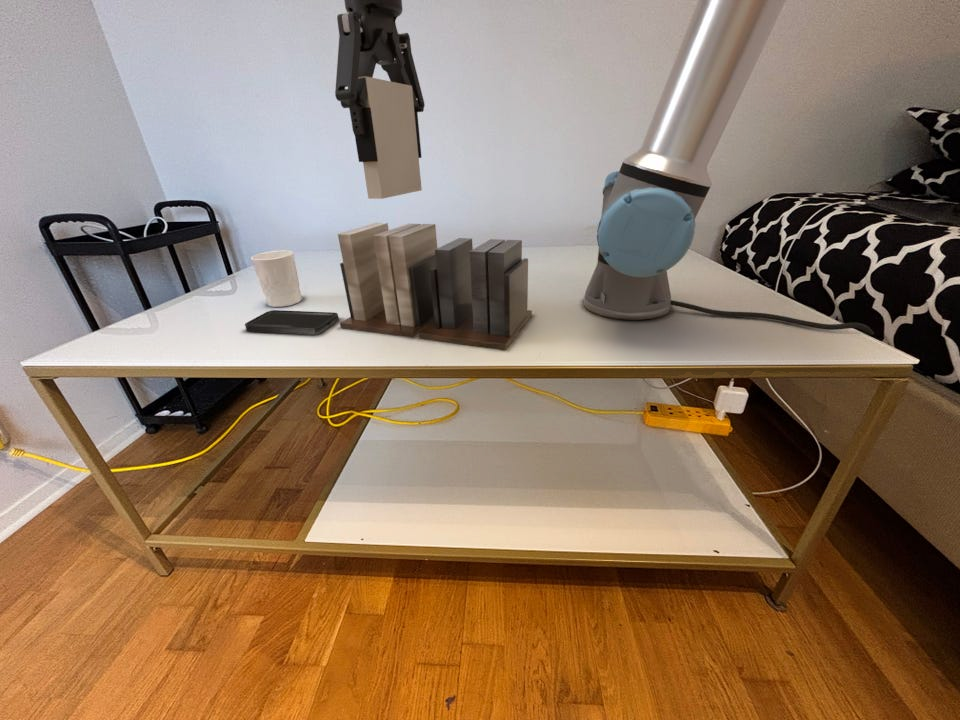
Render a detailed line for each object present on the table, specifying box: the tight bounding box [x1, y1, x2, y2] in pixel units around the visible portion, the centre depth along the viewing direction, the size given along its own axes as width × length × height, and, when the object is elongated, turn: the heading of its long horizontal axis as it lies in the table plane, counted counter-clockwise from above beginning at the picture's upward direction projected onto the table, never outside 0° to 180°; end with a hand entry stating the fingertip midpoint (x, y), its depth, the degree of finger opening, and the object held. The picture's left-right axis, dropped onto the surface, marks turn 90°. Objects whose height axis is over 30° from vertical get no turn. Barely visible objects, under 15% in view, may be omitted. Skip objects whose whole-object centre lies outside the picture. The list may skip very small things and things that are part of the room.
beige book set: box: [337, 222, 438, 339], centre depth 73 cm, size 15×15×16 cm
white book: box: [358, 76, 423, 200], centre depth 62 cm, size 2×12×15 cm, turn 158°
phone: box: [244, 309, 340, 336], centre depth 75 cm, size 8×1×15 cm
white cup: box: [250, 250, 303, 308], centre depth 85 cm, size 8×8×10 cm
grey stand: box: [418, 237, 533, 351], centre depth 68 cm, size 15×15×14 cm
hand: (392, 160), depth 64 cm, fingers closed on white book, 12 cm apart
